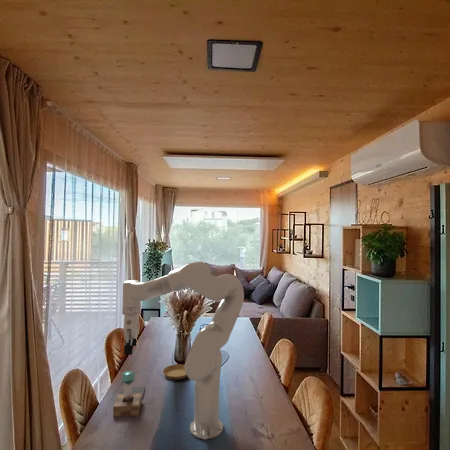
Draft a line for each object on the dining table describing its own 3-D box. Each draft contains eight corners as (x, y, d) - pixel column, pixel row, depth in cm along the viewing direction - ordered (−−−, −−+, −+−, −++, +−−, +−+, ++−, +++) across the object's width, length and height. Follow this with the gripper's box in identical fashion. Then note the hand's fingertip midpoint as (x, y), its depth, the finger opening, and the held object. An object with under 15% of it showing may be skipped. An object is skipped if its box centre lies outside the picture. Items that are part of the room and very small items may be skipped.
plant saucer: (164, 383, 160) (164, 377, 160) (161, 370, 174) (161, 365, 174) (193, 379, 164) (193, 374, 164) (188, 367, 178) (188, 363, 178)
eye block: (138, 415, 131) (138, 405, 132) (113, 416, 130) (113, 406, 130) (141, 402, 141) (141, 393, 141) (118, 403, 140) (118, 394, 140)
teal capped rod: (133, 412, 134) (133, 375, 134) (120, 412, 133) (121, 376, 133) (134, 405, 139) (135, 370, 139) (122, 406, 138) (123, 371, 138)
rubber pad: (142, 398, 144) (142, 397, 144) (119, 399, 143) (119, 398, 143) (145, 387, 154) (145, 386, 154) (123, 388, 153) (123, 387, 153)
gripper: (137, 315, 129) (136, 358, 129) (143, 305, 146) (142, 342, 146) (117, 315, 128) (116, 358, 128) (126, 305, 145) (125, 343, 145)
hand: (130, 350), depth 137 cm, fingers open, 9 cm apart
